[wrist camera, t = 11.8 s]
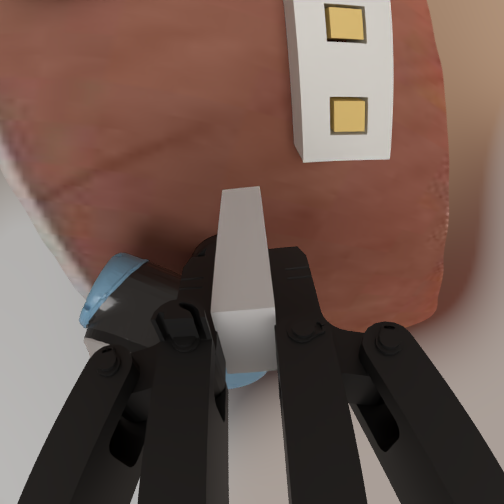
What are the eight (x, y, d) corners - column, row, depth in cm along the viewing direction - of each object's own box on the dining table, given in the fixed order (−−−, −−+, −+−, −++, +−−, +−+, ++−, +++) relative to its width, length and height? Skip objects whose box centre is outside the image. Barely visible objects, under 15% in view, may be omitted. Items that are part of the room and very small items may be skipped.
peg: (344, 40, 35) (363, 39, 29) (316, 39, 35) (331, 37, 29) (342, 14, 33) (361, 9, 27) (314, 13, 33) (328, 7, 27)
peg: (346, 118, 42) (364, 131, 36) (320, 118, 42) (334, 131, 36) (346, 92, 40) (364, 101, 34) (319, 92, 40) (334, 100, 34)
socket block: (369, 141, 45) (389, 159, 39) (293, 144, 46) (303, 162, 39) (365, -7, 31) (388, -15, 25) (282, -12, 31) (290, -24, 25)
